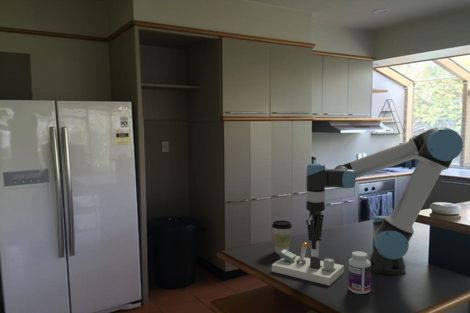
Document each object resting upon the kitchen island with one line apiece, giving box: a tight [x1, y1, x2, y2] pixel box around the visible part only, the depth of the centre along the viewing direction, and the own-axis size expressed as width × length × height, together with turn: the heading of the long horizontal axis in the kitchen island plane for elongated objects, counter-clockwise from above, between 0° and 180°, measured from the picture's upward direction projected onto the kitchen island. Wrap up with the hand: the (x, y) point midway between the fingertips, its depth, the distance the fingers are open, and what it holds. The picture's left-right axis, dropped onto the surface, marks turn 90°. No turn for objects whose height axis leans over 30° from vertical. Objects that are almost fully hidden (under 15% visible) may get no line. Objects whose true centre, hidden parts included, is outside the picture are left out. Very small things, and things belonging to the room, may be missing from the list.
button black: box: [309, 255, 321, 269], centre depth 161 cm, size 4×4×4 cm
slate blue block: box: [278, 249, 297, 262], centre depth 168 cm, size 6×4×2 cm
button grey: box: [323, 258, 335, 272], centre depth 157 cm, size 4×4×4 cm
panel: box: [271, 255, 345, 286], centre depth 163 cm, size 26×16×5 cm, turn 55°
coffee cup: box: [271, 219, 293, 255], centre depth 188 cm, size 10×10×15 cm
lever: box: [299, 242, 309, 262], centre depth 166 cm, size 3×3×9 cm
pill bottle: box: [347, 250, 372, 295], centre depth 144 cm, size 8×8×14 cm
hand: (314, 255), depth 161 cm, fingers closed
